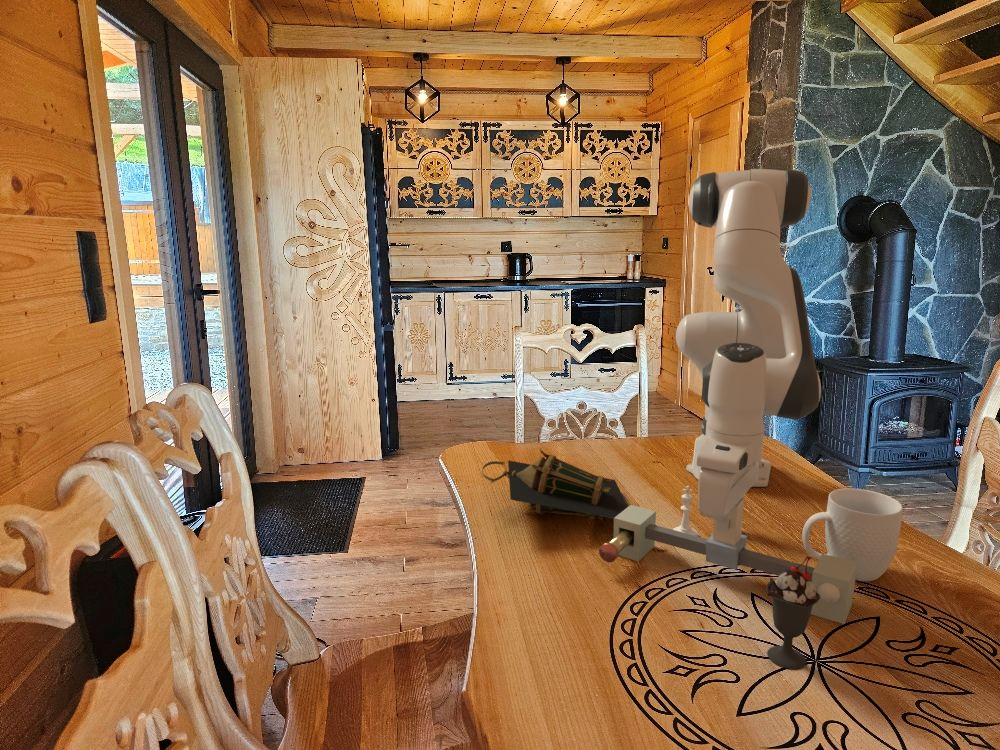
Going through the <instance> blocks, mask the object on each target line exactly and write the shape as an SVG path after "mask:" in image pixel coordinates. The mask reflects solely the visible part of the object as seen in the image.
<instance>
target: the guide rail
mask: <svg viewBox="0 0 1000 750" xmlns="http://www.w3.org/2000/svg"><path fill="white" fill-rule="evenodd" d="M656 517H657V511H656V510H653V509H649V508H644V507H641V506H638V505H633V504H630V505H628V507H627V508H626V509H625V510H624V511H622V512H621V513H620V514H618V515H617V516H616V517H615V518H613V537H612V539H614V538H615V537H616V536H617V535H618V534H620V533H621V532H622V531H623V530H624V529H627V530H631V531H634V540H633V541H632V542H631V543H630V544H629V545H627V546H626V547H625V548H624V549H623V550H622V551H621V552H620V553H618V556H619V557H623V558H625V559H629V560H633V561H636V562H640V561H641V560H642V559H643V558H644V557H645V556H646V555H647V554H648V553H649V552H650V551H651V550H652V549H653V548H655V542H658V543H661V544H665V545H669V546H672V547H676V548H679V549H681V550H682V549H683V550H686V551H689V552H693V553H698V554H699V555H705V556H706V541H707V540H708V539H709V538H704V537H701V536H699V535H698V536H694V535H690V534H687V533H683V532H679V531H675V530H673V529H671V528H667V527H664V526H660V525H657V524H656V519H657V518H656ZM821 554H822V555H821V557H820V559H818V561H817V563H816V565H815V567H814V566H810V565H807V572H808V573H809V574H810V579H809V581H810V582H811V583H812V584H813V586H814V588H815V591H816V592H817V593H818V594H819V595H820V599H819V601H818V602H817V603H816V604H814V605H813V607H812V610H811V614H810V616H811V615H812V616H815V617H818V618H821V619H825V620H828V621H831V622H834V621H835V623H837V622H839V623H838V624H841V623H842V624H841V625H844V624H846V622H847V619H848V617H849V613H850V611H851V608H852V605H853V601H854V600H853V599H854V593H855V584H856V580H855V578H856V569H857V562H853V561H849V560H845V559H841V558H837V557H834V556H830V555H826V554H827V553H821ZM801 564H802V563H798V562H794V561H791V560H787V559H783V558H779V557H776V556H771V555H768V554H765V553H761V552H757V551H753V550H751V549H750V550H749V549H743V548H742V550H741V551H740V552H739V558H738V566H739V565H740V566H743V567H746V568H749V569H753V570H755V571H756V570H757V571H761V572H762V573H763V572H764V573H768V574H771V575H775V576H777V577H778V576H779V575H780V574H782V573H783V572H784V571H787V570H790V569H791V567H793V566H796V567H798V566H799V565H801ZM798 568H799V569H800V573H802V572H806V570H805V569H806V564H802V565H801V566H800V567H798ZM847 616H848V617H847Z"/></svg>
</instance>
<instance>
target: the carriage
mask: <svg viewBox="0 0 1000 750" xmlns="http://www.w3.org/2000/svg"><path fill="white" fill-rule="evenodd" d="M744 504H745V498H744V497H743V498H741V499H740V500H739V501H738V502H737V503H736V505H735V506H734V507H733V508H732V509H731V510H730V513H729V519H730V528H729V529H728V530H727V532H722V531H718V530H717V528H716V524H717V520H716V519H713V529H712V534H711V535H710V537H708V538H707V539H708V540H707V541H706V555H705V562H707V563H710V564H713V565H717V566H721V567H724V568H727V569H731V570H734V571H736V570H737V569H738V567H739V564H738V558H739V552H740V551H741V550H742V548H743V549H746V548H747V543H748V535H746V534H742V529H743V517H744V515H743V514H744V507H745V506H744ZM746 550H747V549H746Z"/></svg>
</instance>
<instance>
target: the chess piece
mask: <svg viewBox="0 0 1000 750" xmlns="http://www.w3.org/2000/svg"><path fill="white" fill-rule="evenodd" d="M685 487H686V488H682V493H684V494H682V495H681V500H682V504H683V505H681V506H680V509H681V511H683V513H682V519H681V523H680V525H679V526H676V527H673V529H672V530H675V531H679V532H683V533H687V534H690V535H694V536H698V537H699V532H698V531H697V530H696V529H695V528H694V527H693V528H692V526H691V524H690V512H691V511H692V510H693V507H692V506H691V503H692V500H693V495H691V493H693V489H690V486H689V485H686V486H685Z"/></svg>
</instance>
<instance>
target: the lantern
mask: <svg viewBox="0 0 1000 750" xmlns="http://www.w3.org/2000/svg"><path fill="white" fill-rule="evenodd" d="M539 451H540V453H541V454H542V455H543V456H541V457H540V458H539V459H537V460H536V461H534V462H533V463H531V464H530V463H525V462H520V461H514V460H509V459H508V460H507V462H508V463H507V464H508V465H507V466H508V469H507V466H506V463H505V461H497V460H496V461H495V460H494V461H488V462H487V463H486V464H484V465H483V467H482V468H481V474H482V476H483V478H484V479H486V480H487V481H490V482H491V484H493V483H495V482H497V481H498V480H500V479H502V478H504V477H507V479H508V480H509V482H508V483H509V495H510V497H509V498H510V500H511V501H516V502H521V503H526V504H529V505H528V506H529V509H528V508H527V510H525V512H524V514H527V513H530V512H536V513H537V514H544V513H550V514H562V515H573V516H582V517H588V518H589V519H595V518H597V519H598V518H599V520H601V521H603V520H604V519H603V518H604V517H605V518H609V519H610V518H611V519H614V518H615V517H616V516H617V515H618V514H620V513H621V512H622V511H624V510H625V509H626V508H627V507H629V505H628V504H627V501H626V500H625V497H624V496H623V493H622V492H621V489H620V488H619V486H618V483H617V482H616V479H612V478H607V477H604V476H601V475H598V476H597V475H595V474H593V473H591V472H588V471H586V470H584V469H582V468H579V467H577V466H575V465H573V464H570V463H568V462H566V461H564V460H561V459H559V458H557V456H556V455H553V454H547V453H546V452H544V451H543V449H542V448H539ZM491 465H499V466H500V465H501V466H503V467H504V471H502V474H501V475H500V476H498V477H495V478H492V477H489V476H487V475H486V474H485V473H484V469H485V468H486V467H488V466H491ZM507 470H508V471H507Z"/></svg>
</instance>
